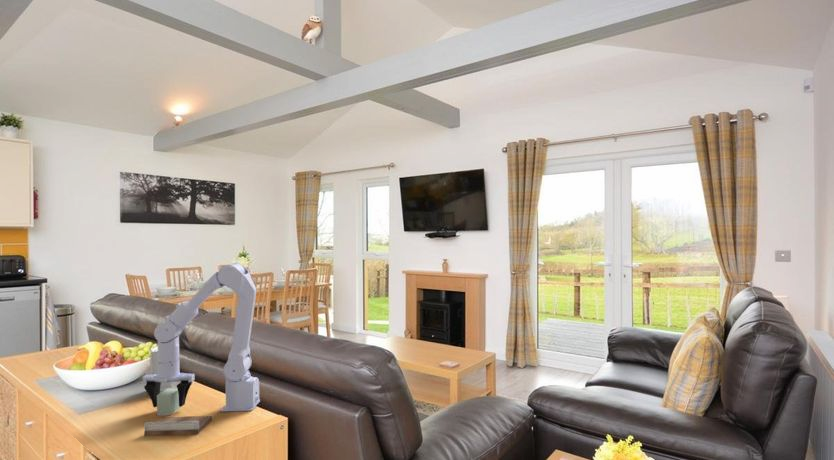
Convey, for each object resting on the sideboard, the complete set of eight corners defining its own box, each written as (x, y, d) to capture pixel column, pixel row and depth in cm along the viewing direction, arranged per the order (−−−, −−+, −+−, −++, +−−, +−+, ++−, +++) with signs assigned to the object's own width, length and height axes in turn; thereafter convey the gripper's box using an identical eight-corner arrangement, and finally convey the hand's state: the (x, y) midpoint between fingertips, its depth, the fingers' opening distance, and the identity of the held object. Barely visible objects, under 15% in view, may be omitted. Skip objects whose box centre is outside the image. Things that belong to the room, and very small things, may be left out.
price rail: (199, 428, 119) (199, 420, 119) (197, 429, 118) (197, 422, 118) (146, 429, 119) (146, 422, 119) (144, 431, 118) (144, 423, 118)
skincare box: (172, 392, 150) (171, 348, 150) (151, 396, 147) (151, 351, 147) (170, 385, 157) (169, 343, 157) (150, 389, 154) (149, 346, 154)
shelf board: (212, 419, 127) (212, 415, 127) (197, 434, 118) (197, 429, 118) (162, 421, 127) (162, 417, 127) (144, 435, 118) (144, 431, 118)
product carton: (180, 407, 137) (180, 387, 137) (170, 415, 131) (170, 394, 131) (167, 407, 137) (167, 388, 137) (156, 415, 131) (156, 395, 131)
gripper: (136, 365, 130) (136, 411, 130) (186, 364, 131) (187, 410, 130) (150, 358, 137) (150, 402, 137) (197, 357, 138) (198, 401, 138)
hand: (169, 405), depth 134 cm, fingers open, 7 cm apart
